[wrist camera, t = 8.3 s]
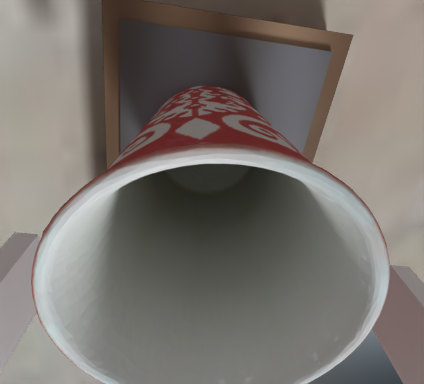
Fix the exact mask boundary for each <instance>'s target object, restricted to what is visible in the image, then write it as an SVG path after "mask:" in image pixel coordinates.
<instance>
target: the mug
mask: <svg viewBox="0 0 424 384" xmlns="http://www.w3.org/2000/svg"><path fill="white" fill-rule="evenodd" d="M389 277H390V263H389V255H388V251H387V246H386V242H385V239H384V236H383V234H382V232H381V229H380V227H379V225H378V223H377V221H376V219H375V217H374V216H373V214H372V212H371V211H370V209H369V208H368V207H367V205H366V204H365V203H364V202H363V201H362V200H361V198H360V197H359V196H358V195H357V194H356V193H355V192H354V191H353V190H352V189H351V188H350V187H349V186H347V185H346V184H345V183H344V182H342V181H341V180H339V179H338V178H336V177H335V176H333V175H332V174H331V173H329V172H327V171H326V170H324V169H323V168H320V167H318V166H316V165H314V164H312V163H311V162H310V161H309V160H308V159H307V158H306V157H305V156H304V155H303V154H302V153H300V152H299V151H298V150H297V149H296V148H295V147H294V146H293V145H292V144H291V143H290V142H289V141H288V140H287V139H286V138H285V137H284V136H283V135H282V134H280V133H279V132H278V131H277V130H276V129H275V128H274V127H273V126H272V125H271V124H270V123H269V122H268V121H267V120H266V119H265V118H264V117H263V116H262V115H261V114H260V113H258V112H257V111H256V110H255V109H254V108H253V107H252V106H251V105H250V104H249V103H248V102H247V101H246V100H245V99H244V98H242V97H241V96H240V95H238V94H236V93H235V92H233V91H230V90H228V89H225V88H222V87H217V86H210V85H204V86H195V87H191V88H187V89H185V90H182V91H180V92H178V93H177V94H175V95H173V96H172V97H171V98H170V99H168V100H167V101H166V102H165V103H164V104H163V105H162V106H161V108H160V109H159V110H158V111H157V113H156V114H155V115H154V116H153V118H152V119H151V120H150V121H148V122H147V123H146V124H145V126H144V127H143V128H142V130H141V131H140V132H139V134H138V135H137V136H136V137H135V138H134V139H133V140H132V142H131V143H130V144H129V145H128V146H127V147H126V148H125V149H124V150H123V151H122V152H121V154H120V155H119V156H118V158H117V159H116V160H115V161H114V162H113V163H112V164H111V165H110V167H109V168H108V169H107V170H106V172H105V173H103V174H101V175H99V176H98V177H96V178H95V179H93V180H92V181H90V182H89V183H88V184H86V185H85V186H84V187H83V188H81V189H80V190H79V191H78V192H77V193H76V194H75V195H73V196H72V197H71V198H70V199H69V200H68V201H67V202H66V203H65V204H64V205H63V206H62V207H61V208H60V210H59V211H58V212H57V213H56V214H55V215H54V216H53V218H52V219H51V221H50V223H49V224H48V226H47V227H46V228H45V230H44V231H43V235H42V238H41V240H40V242H39V244H38V246H37V250H36V253H35V256H34V260H33V266H32V276H31V287H32V297H33V301H34V305H35V309H36V312H37V314H38V317H39V320H40V322H41V324H42V325H43V327H44V329H45V331H46V332H47V334H48V335H49V337H50V338H51V340H52V341H53V342H54V344H55V345H56V346H57V347H58V348H59V350H60V351H61V352H62V353H63V354H64V355H65V356H66V357H67V358H68V359H69V360H70V361H71V362H73V363H74V364H75V365H76V366H78V367H79V368H80V369H82V370H83V371H85V372H86V373H87V374H89V375H90V376H91V377H93V378H95V379H97V380H99V381H100V382H102V383H104V384H307V383H309V382H311V381H312V380H314V379H316V378H318V377H319V376H321V375H323V374H325V373H326V372H328V371H329V370H331V369H332V368H333V367H335V366H336V365H337V364H339V363H340V362H342V361H343V360H344V359H345V358H346V357H347V356H348V355H350V354H351V353H352V352H353V351H354V350H355V349H356V348H357V347H358V346H359V345H360V344H361V342H362V341H363V340H364V339H365V337H366V336H367V335H368V333H369V332H370V330H371V329H372V327H373V326H374V324H375V322H376V320H377V319H378V317H379V315H380V313H381V310H382V307H383V305H384V302H385V300H386V297H387V292H388V287H389Z"/></svg>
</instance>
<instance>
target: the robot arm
mask: <svg viewBox="0 0 424 384" xmlns="http://www.w3.org/2000/svg"><path fill="white" fill-rule="evenodd" d="M38 244H39V236H38V234H27V233H16V232H15V233H14V234H13V235H12V236H11V237H10V238H9V239H8V240H7V241H6V243H5V244H4V245H3V246H2V247H1V248H0V374H1V372H2V370H3V369H4V367H5V365H6V364H7V362H8V360H9V358H10V357H11V355H12V353H13V351H14V350H15V348H16V346H17V344H18V343H19V341H20V339H21V338H22V336H23V334H24V332H25V331H26V329H27V327H28V325H29V324H30V322H31V320H32V318H33V317H34V315H35V313H36V309H35V305H34V301H33V297H32V287H31V276H32V266H33V260H34V256H35V253H36V250H37V246H38ZM372 330H373V331H374V333H375V335H376V336H377V338H378V340H379V342H380V344H381V345H382V347H383V349H384V351H385V352H386V354H387V356H388V357H389V359H390V361H391V363H392V364H393V366H394V368H395V370H396V372H397V373H398V375H399V377H400V379H401V380H402V382H403V384H424V283H423V282H422V281H421V280H420V279H419V278H418V277H417V275H416V274H415V273H414V272H413V271H412V270H411V269H410V267H404V266H393V265H390V277H389V287H388V292H387V297H386V300H385V302H384V305H383V307H382V310H381V313H380V315H379V317H378V319H377V320H376V322H375V324H374V326H373V327H372Z"/></svg>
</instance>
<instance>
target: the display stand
mask: <svg viewBox="0 0 424 384" xmlns="http://www.w3.org/2000/svg"><path fill="white" fill-rule="evenodd" d="M102 23H103V58H104V93H105V128H106V163H107V169H108V168H109V167H110V165H111V164H112V163H113V162H114V161H115V160H116V159H117V158H118V156H119V155H120V154H121V152H122V151H123V150H124V149H125V148H126V147H127V146H128V145H129V144H130V143H131V142H132V140H133V139H134V138H135V137H136V136H137V135H138V134H139V132H140V131H141V130H142V128H143V127H144V126H145V124H146V123H147V122H148V121H150V120H151V119H152V118H153V116H154V115H155V114H156V113H157V111H158V110H159V109H160V108H161V106H162V105H163V104H164V103H165V102H166V101H167V100H168V99H170V98H171V97H172V96H173V95H175V94H177V93H178V92H180V91H182V90H185V89H187V88H191V87H195V86H204V85H210V86H217V87H222V88H225V89H228V90H230V91H233V92H235V93H236V94H238V95H240V96H241V97H242V98H244V99H245V100H246V101H247V102H248V103H249V104H250V105H251V106H252V107H253V108H254V109H255V110H256V111H257V112H258V113H260V114H261V115H262V116H263V117H264V118H265V119H266V120H267V121H268V122H269V123H270V124H271V125H272V126H273V127H274V128H275V129H276V130H277V131H278V132H279V133H280V134H282V135H283V136H284V137H285V138H286V139H287V140H288V141H289V142H290V143H291V144H292V145H293V146H294V147H295V148H296V149H297V150H298V151H299V152H300V153H302V154H303V155H304V156H305V157H306V158H307V159H308V160H309V161H310V162H311V163H312V162H313V159H314V156H315V153H316V150H317V147H318V143H319V140H320V137H321V134H322V131H323V128H324V125H325V122H326V119H327V115H328V112H329V109H330V106H331V103H332V100H333V97H334V94H335V91H336V87H337V84H338V81H339V78H340V75H341V72H342V69H343V66H344V63H345V59H346V56H347V53H348V50H349V47H350V44H351V41H352V38H353V35H350V34H344V33H338V32H332V31H326V30H320V29H314V28H307V27H301V26H295V25H289V24H283V23H277V22H271V21H265V20H259V19H253V18H247V17H241V16H235V15H228V14H222V13H216V12H210V11H204V10H198V9H192V8H186V7H180V6H174V5H168V4H162V3H155V2H149V1H143V0H102Z"/></svg>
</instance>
